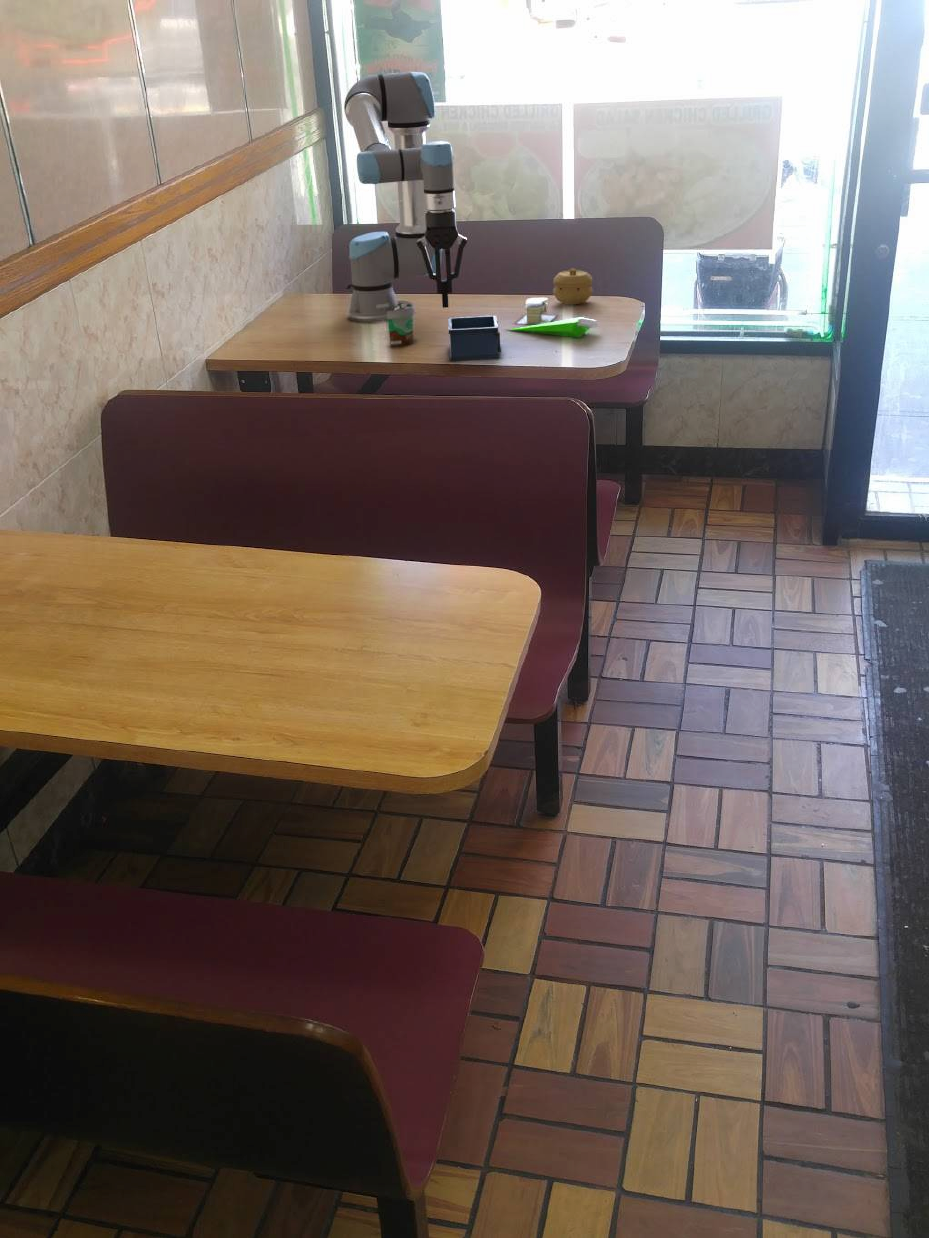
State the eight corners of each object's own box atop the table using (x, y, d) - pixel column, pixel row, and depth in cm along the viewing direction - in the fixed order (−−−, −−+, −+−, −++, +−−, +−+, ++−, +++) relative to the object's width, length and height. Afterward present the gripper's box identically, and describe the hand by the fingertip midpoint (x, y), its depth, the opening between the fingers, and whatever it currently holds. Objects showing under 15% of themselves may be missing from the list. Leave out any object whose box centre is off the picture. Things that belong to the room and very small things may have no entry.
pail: (448, 317, 298) (498, 314, 298) (449, 347, 302) (499, 344, 302) (448, 330, 286) (500, 327, 286) (450, 361, 290) (501, 358, 290)
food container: (411, 349, 302) (408, 311, 297) (389, 348, 303) (386, 311, 299) (422, 336, 313) (419, 300, 308) (400, 336, 314) (398, 300, 309)
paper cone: (498, 342, 310) (580, 335, 298) (497, 322, 309) (580, 314, 297) (517, 344, 320) (598, 338, 307) (516, 324, 319) (598, 317, 306)
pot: (545, 304, 339) (544, 270, 334) (571, 296, 345) (571, 262, 340) (574, 309, 331) (574, 275, 326) (600, 301, 338) (601, 267, 333)
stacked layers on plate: (546, 324, 317) (546, 305, 315) (516, 323, 320) (515, 304, 317) (556, 316, 325) (556, 296, 323) (526, 314, 328) (526, 295, 326)
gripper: (413, 214, 275) (420, 311, 287) (466, 211, 275) (471, 308, 287) (414, 208, 282) (420, 304, 293) (466, 206, 282) (470, 301, 293)
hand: (445, 306), depth 290 cm, fingers closed
